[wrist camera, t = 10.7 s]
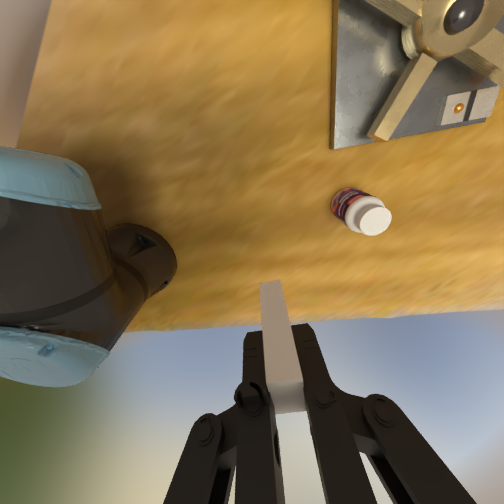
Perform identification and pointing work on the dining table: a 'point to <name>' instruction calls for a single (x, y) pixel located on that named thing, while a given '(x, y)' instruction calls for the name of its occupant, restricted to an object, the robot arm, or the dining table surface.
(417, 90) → the four spoke knob plate
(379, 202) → the pill bottle
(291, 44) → the dining table surface
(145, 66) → the dining table surface
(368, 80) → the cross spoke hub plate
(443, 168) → the dining table surface
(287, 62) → the dining table surface
